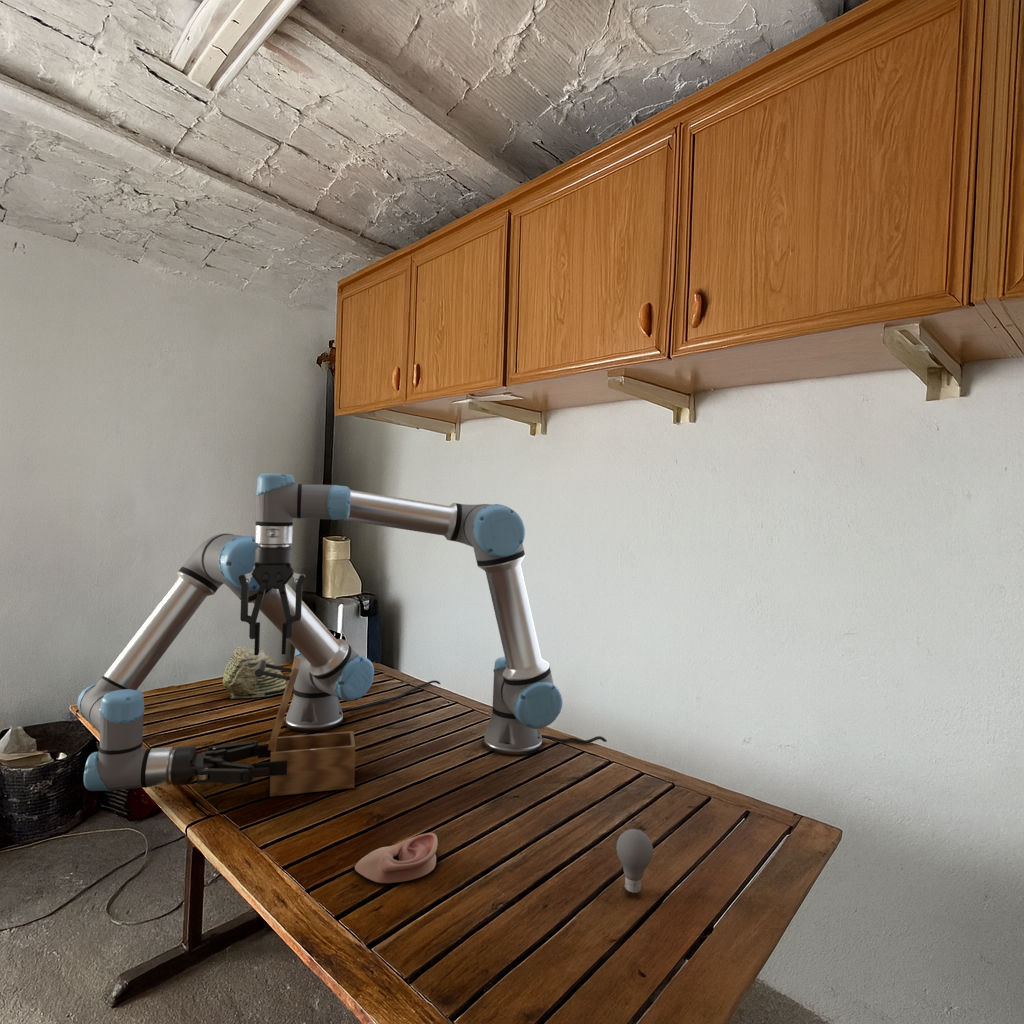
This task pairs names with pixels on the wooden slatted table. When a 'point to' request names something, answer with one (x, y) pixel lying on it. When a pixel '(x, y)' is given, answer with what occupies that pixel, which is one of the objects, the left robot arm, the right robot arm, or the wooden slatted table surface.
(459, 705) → the wooden slatted table surface
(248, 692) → the fossil
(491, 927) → the wooden slatted table surface
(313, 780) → the chest
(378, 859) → the anatomical model
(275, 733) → the lid
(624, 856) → the light bulb
